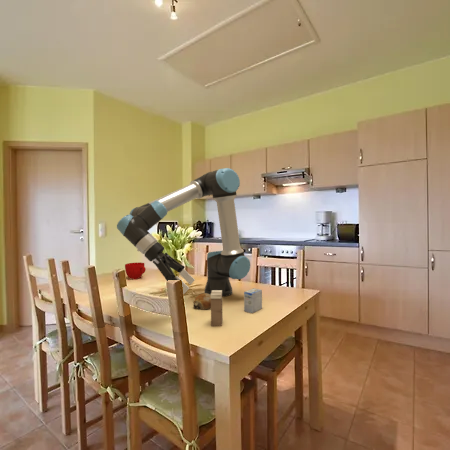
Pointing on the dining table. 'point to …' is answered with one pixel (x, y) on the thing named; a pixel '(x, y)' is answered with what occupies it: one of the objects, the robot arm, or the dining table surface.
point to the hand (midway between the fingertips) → (189, 286)
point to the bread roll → (202, 301)
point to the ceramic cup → (134, 270)
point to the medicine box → (252, 300)
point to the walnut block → (216, 308)
